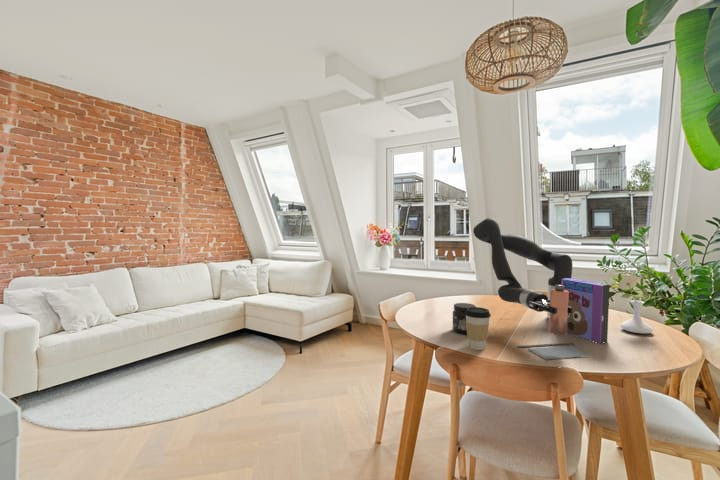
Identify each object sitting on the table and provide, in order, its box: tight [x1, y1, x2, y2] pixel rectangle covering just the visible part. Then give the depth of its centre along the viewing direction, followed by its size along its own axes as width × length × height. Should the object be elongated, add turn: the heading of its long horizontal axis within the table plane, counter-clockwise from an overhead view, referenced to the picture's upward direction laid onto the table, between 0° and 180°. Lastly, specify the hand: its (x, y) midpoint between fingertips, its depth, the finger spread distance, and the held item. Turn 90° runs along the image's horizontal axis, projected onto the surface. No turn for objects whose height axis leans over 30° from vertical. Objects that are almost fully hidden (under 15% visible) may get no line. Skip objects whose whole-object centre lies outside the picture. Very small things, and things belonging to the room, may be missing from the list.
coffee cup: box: [464, 306, 492, 351], centre depth 137 cm, size 10×10×15 cm
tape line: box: [516, 342, 574, 349], centre depth 139 cm, size 24×1×1 cm, turn 99°
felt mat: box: [527, 345, 590, 361], centre depth 131 cm, size 18×10×1 cm, turn 99°
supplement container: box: [452, 302, 477, 336], centre depth 156 cm, size 10×10×12 cm
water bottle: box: [548, 285, 569, 336], centre depth 130 cm, size 6×6×18 cm
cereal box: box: [561, 278, 610, 344], centre depth 149 cm, size 17×5×24 cm, turn 23°
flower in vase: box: [617, 275, 654, 335], centre depth 156 cm, size 13×11×25 cm
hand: (563, 310), depth 128 cm, fingers closed on water bottle, 6 cm apart
